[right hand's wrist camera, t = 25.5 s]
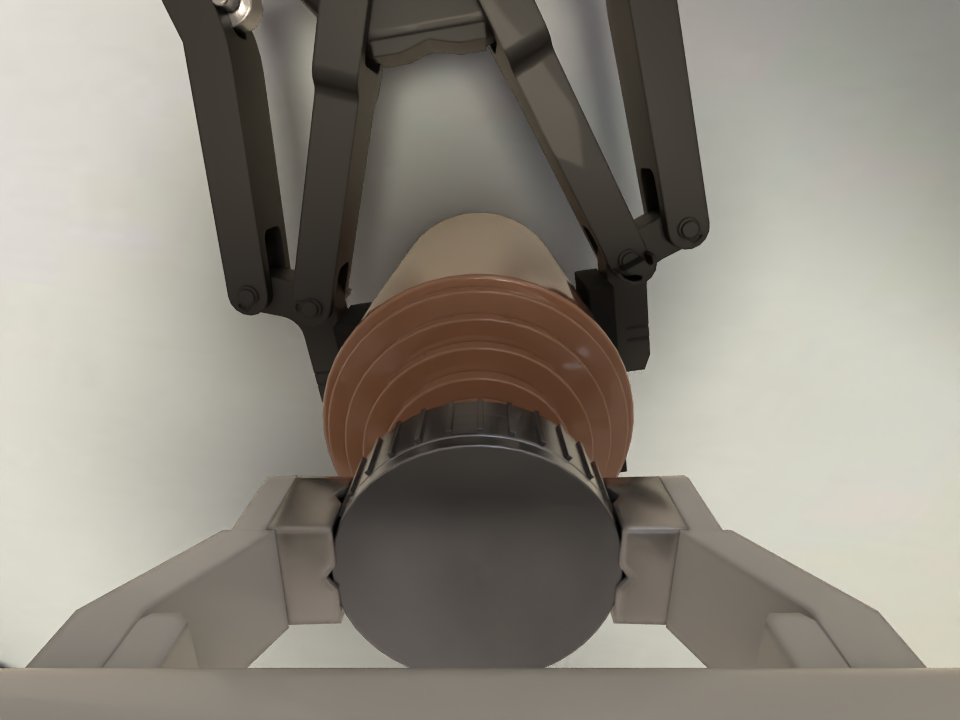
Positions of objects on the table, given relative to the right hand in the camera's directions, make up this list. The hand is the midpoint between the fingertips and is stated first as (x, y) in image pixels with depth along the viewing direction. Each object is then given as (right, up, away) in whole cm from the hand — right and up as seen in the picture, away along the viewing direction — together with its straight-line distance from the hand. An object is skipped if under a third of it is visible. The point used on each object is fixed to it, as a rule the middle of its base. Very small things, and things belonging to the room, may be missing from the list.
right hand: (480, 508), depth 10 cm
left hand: (+1, -1, +11) cm, 11 cm away
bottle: (0, +5, +15) cm, 16 cm away
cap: (0, -1, -1) cm, 1 cm away
